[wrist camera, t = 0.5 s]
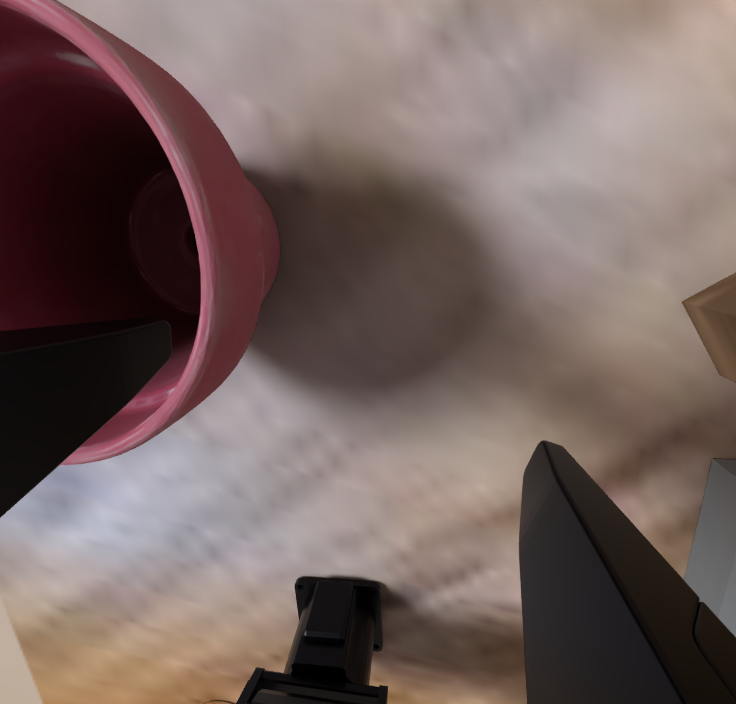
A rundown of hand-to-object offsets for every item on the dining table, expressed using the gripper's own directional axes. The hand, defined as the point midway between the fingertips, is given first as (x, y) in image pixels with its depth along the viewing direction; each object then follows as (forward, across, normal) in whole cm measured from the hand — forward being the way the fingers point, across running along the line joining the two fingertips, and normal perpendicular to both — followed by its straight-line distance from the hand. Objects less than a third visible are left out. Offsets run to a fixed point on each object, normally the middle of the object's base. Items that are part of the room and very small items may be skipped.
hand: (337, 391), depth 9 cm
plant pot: (+13, +13, +2) cm, 19 cm away
